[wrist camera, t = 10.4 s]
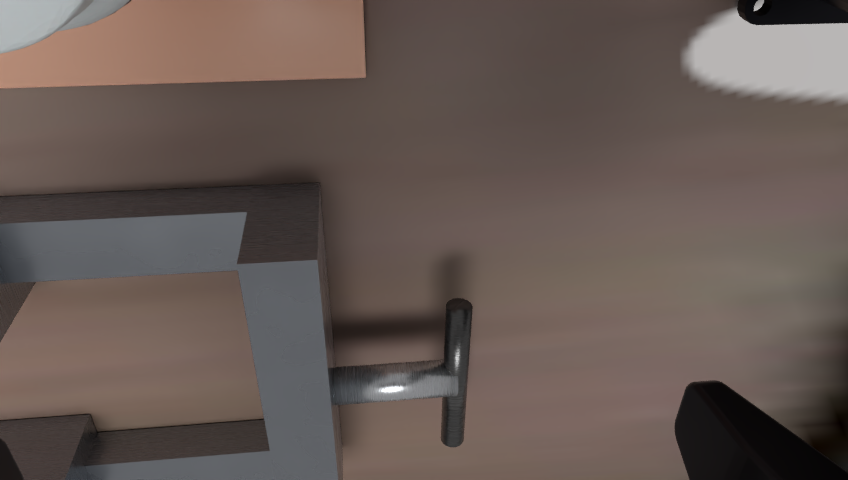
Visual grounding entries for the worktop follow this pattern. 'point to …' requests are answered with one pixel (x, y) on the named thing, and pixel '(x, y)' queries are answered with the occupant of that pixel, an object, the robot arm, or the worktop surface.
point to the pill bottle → (47, 18)
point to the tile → (198, 45)
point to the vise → (266, 318)
